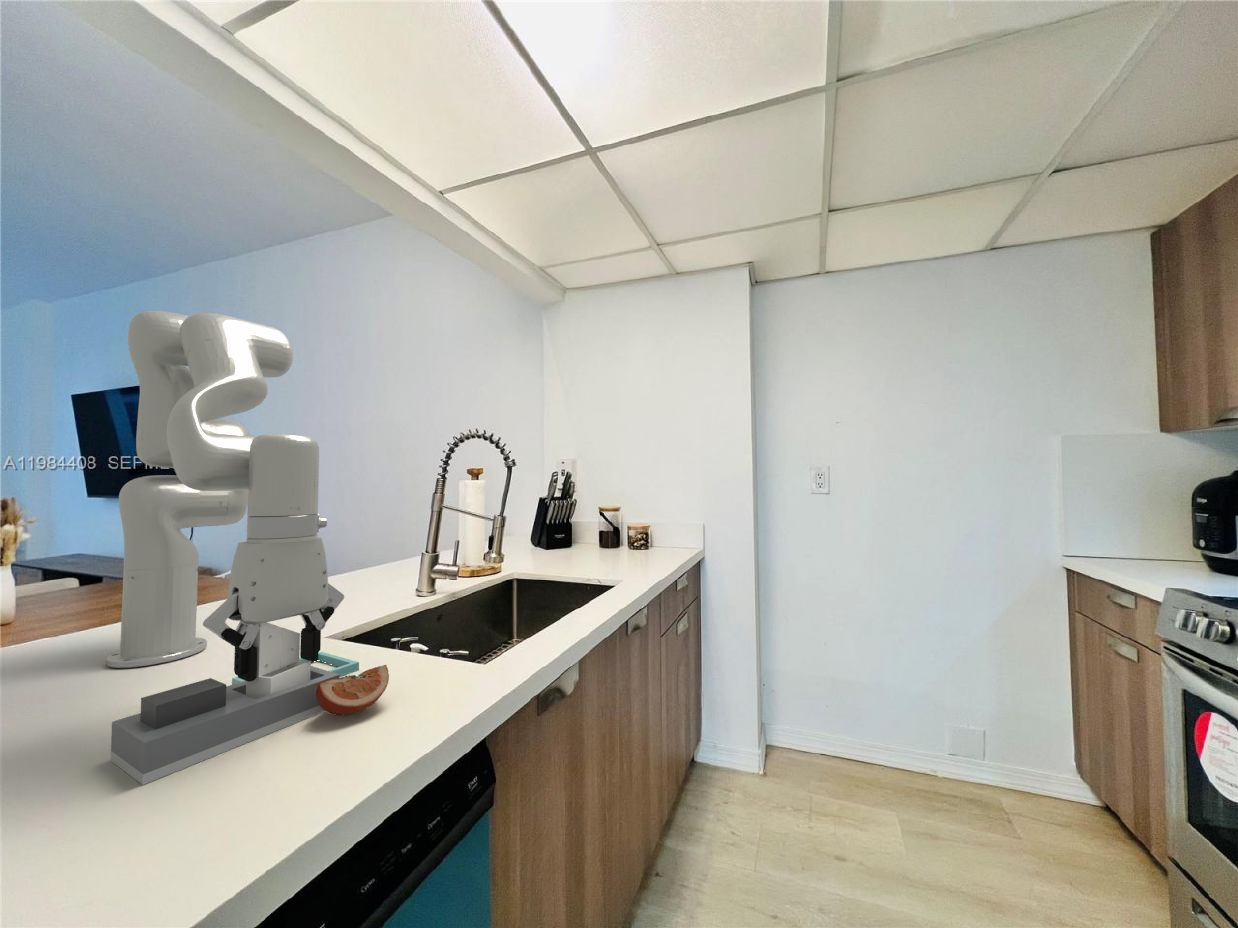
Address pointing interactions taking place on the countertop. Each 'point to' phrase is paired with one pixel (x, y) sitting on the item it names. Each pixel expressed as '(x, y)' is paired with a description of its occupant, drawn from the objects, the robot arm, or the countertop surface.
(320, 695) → the fruit slice
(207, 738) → the grey slotted holder
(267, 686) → the white angled block
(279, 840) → the countertop surface
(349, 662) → the tray frame
